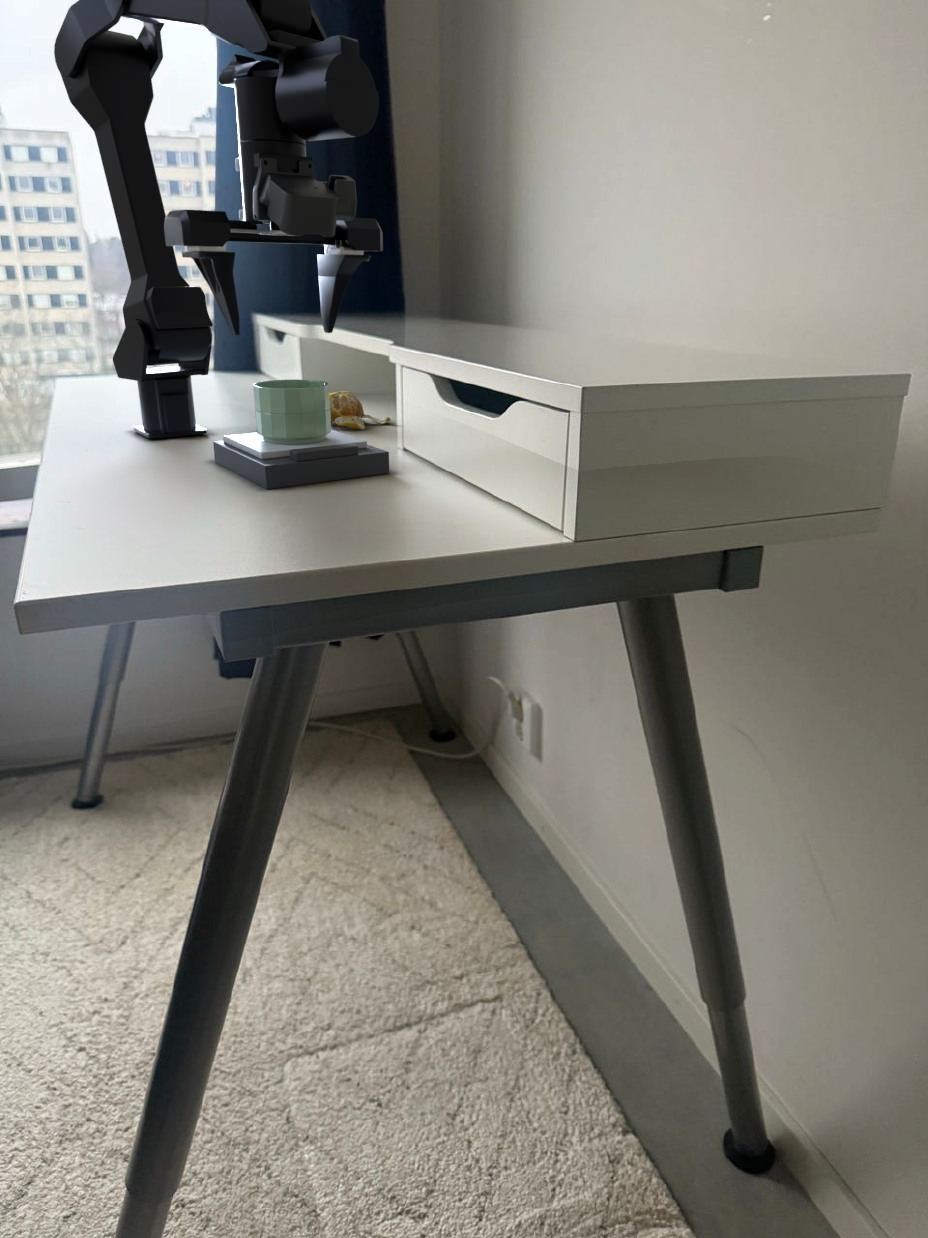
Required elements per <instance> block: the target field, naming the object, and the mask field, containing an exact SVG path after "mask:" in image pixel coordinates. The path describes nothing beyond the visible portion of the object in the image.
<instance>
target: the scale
mask: <svg viewBox="0 0 928 1238" xmlns="http://www.w3.org/2000/svg"><path fill="white" fill-rule="evenodd" d="M212 444H213V445H212V446H213V455H214V462H215V463H216V464H218V465H220V466H221V467H223V468H225V469H227V470H230V471H232V472H233V473H235V474H237V475H240V476H241V477H243V478H245V479H247V480H249V481H250V482H253V483H255V484H256V485H258V486H260V487H262V488H263V489H266V490H273V489H280V488H288V487H295V486H296V487H297V486H302V485H303V486H304V485H310V484H311V485H312V484H319V483H324V482H333V481H334V482H335V481H341V480H348V479H355V478H363V477H371V476H379V475H386V474H390V451H387V450H384V449H381V448H379V447H376V446H373V445H370V444H368V441H367V440H364V439H361V438H358V437H355V436H353V435H349V434H346V433H343V432H340V431H337V430H333V429H331V433H329V434H327V435H326V439H325V440H323V441H320V442H315V443H308V444H275V443H269V442H266V441H264V440H263V437H262V436H261V435H259V434H257V431H256V432H245V433H236V434H227V435H226V434H225V435H223V436H222V440H214V441H212Z"/></svg>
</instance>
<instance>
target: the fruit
mask: <svg viewBox="0 0 928 1238" xmlns="http://www.w3.org/2000/svg"><path fill="white" fill-rule="evenodd" d="M329 395H330V417H331V426H333V423H334V422H335V425H337V426H338V427H347V428H349V429H352V430H365V428H366V426H365V419H369V420H372V421H374V422H375V423H377V424H380V425H383V424H385V423H387V422H388V423H389V422H390V421H391V420H392V418H390V417H389V416H387V417H386V418H378V417H374V416H371V415H370V414H365V411H364V408H363V404H362V403H361V401H360V400H359V399H358V398H357V397H356V395H355V394H354V393H353V392H352V391H348V390H340V391H335V392H329Z"/></svg>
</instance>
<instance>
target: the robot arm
mask: <svg viewBox="0 0 928 1238" xmlns="http://www.w3.org/2000/svg"><path fill="white" fill-rule="evenodd" d="M121 18H126V19H131V20H134V21H139V22H143V27H142V28H141V31H140V33H139V35H138V36H137V38H136V37H135V36H134V35H131V34H126V33H123V32H122V33H121V32H118V31H113V30H111V29H112V28H113V27H114V26H116V25H117V24H118V23H119V22H120V20H121ZM165 24H168V25H169V24H171V25H176V26H183V27H188V28H195V29H202V30H207V31H208V33H209V35H211V36H213V37H215V38H217V39H219V40H221V41H223V42H225V43H226V44H229V45H231V46H234V47H237V48H243V49H245V50H246V51H247V52H248V53H249V54H252V55H256V56H260V57H265V58H270V59H262V60H256V58H255V57H253V56H249V55H244V54H240V53H233V54H232V57H231V60H230V62H229V63H228V65H226V66H225V67H224V68H223V69H222V71H221V73H220V74H219V76H218V83H219V84H220V86H224V87H227V88H228V87H229V88H234V96H235V113H236V125H237V141H238V155H239V156H238V157H235V158H234V164H235V172H240V183H241V193H242V194H241V196H242V209H238V218H239V220H238V219H237V220H236V219H229V217H228V214H227V212H226V211H224V210H206V209H205V210H203V209H202V210H201V209H178V210H170V211H169V212H168V213H167V215H166V211H165V206H164V203H163V198H162V193H161V190H160V189H161V188H160V185H159V181H158V177H157V172H156V168H155V164H154V160H153V155H152V152H151V147H150V142H149V138H148V135H147V130H146V122H147V120H148V116H149V112H150V109H151V107H152V103H153V100H154V89H153V80H152V79H153V78H154V76H155V74H156V72H157V70H158V68H159V67H160V65H161V63H162V61H163V58H164V51H163V41H162V34H161V31H162V30H163V28H164V26H165ZM53 48H54V49H53V56H54V62H55V65H56V68H57V70H58V71H59V74H60V77H61V79H62V83H63V85H64V88H65V91H66V94H67V97H68V100H69V102H70V103H71V105H72V107H74V109H75V110H76V112H77V113H78V114H79V115H80V116H81V117H82V119H83V120H84V121H85V122H86V124H87V125H88V126H89V127H90V128H91V130H92V131H93V133H94V136H95V139H96V143H97V147H98V148H97V149H98V151H99V155H100V160H101V163H102V167H103V172H104V175H105V180H106V184H107V188H108V192H109V195H110V200H111V205H112V208H113V212H114V216H115V220H116V224H117V225H116V226H117V229H118V232H119V236H120V240H121V245H122V249H123V253H124V256H125V260H126V265H127V268H128V272H129V273H128V274H129V278H130V284H129V287H128V290H127V294H126V296H125V299H124V303H123V305H122V316H123V320H124V330H123V332H122V334H121V336H120V339H119V342H118V344H117V346H116V349H115V352H114V354H113V356H112V362H113V365H114V369H115V373H116V375H117V378H118V379H123V380H129V381H134V382H135V381H136V384H137V385H136V386H137V391H138V399H139V408H140V415H141V423H142V425H133V431H134V432H136V433H138V434H140V435H142V436H143V437H145V438H147V439H151V440H153V439H161V438H164V439H165V438H171V437H184V436H196V435H205V434H208V430H207V428H205V427H203V426H200V425H199V424H197V421H196V412H195V411H196V410H195V402H194V393H193V392H194V391H193V383H192V376H208V375H209V370H210V362H211V356H212V355H211V354H212V346H213V332H212V328H211V327H213V326H214V324H213V322H212V320H211V317H210V314H209V311H208V306H207V300H206V294H205V292H204V291H203V288H202V287H201V286H200V285H199V286H198V285H195V286H193V285H192V286H190V285H189V283H188V282H187V281H186V279H185V278H184V277H183V275H181V273H180V269H179V265H178V262H177V256H176V253H175V249H174V247H186V250H181V257H182V258H187V259H188V258H190V259H192V260H193V262H194V263H195V266H196V267H197V269H198V270H199V272H200V273H201V275H202V277H203V278H204V280H205V282H206V284H207V285H208V287H209V288H210V291H211V293H212V296H213V298H214V299H215V301H216V304H217V305H218V308H219V310H220V312H221V314H222V317H223V319H224V321H225V323H226V325H227V327H228V329H229V331H230V334H231V335H232V336H236V337H238V336H240V335H241V327H240V326H241V325H240V312H239V306H238V305H239V304H238V299H237V298H238V297H237V289H236V284H235V277H234V276H235V275H234V269H235V267H234V266H235V261H236V260H235V258H236V252H235V251H228V249H227V243H255V244H257V243H258V244H264V243H265V244H287V245H289V244H290V245H291V244H292V245H321V246H322V247H324V254H320V253H319V254H317V255H316V258H317V259H316V260H317V273H318V274H317V275H318V287H319V301H320V302H319V303H320V315H321V316H320V317H321V322H322V327H323V332H324V333H325V334H332V333H333V332H334V328H335V324H336V321H337V318H338V314H339V312H340V309H341V306H342V302H343V298H344V295H345V291H346V289H347V286H348V285H349V282H350V280H351V277H352V275H353V273H355V271H356V269H357V268H358V267H359V266H360V264H361V263H362V262H369V261H370V258H371V255H370V254H369V255H366V254H364V252H384V238H383V237H384V236H383V235H384V232H383V231H382V228H381V226H380V224H379V222H378V221H377V219H376V218H366V217H365V218H364V217H356V215H357V214H356V213H357V205H358V200H357V186H356V180H354V179H353V178H352V177H350V176H349V175H338V174H330V175H328V177H327V179H326V181H320V180H317V178H316V176H315V163H314V162H313V161H314V160H313V157H311V156H307V143H306V141H307V142H317V141H326V140H337V139H347V138H357V137H362V136H365V135H366V134H368V133H369V132H370V131H371V130H372V129H373V128H374V125H375V123H376V121H377V117H378V114H379V106H380V96H379V91H378V90H377V89H376V84H375V80H374V77H373V75H372V73H371V71H370V69H369V66H367V64H366V63H365V61H364V60H362V58H360V42H359V40H358V39H356V38H352V37H349V36H344V35H341V34H337V35H332V36H329V37H328V36H327V34H326V32H325V29H324V28H323V26H322V24H321V22H320V20H319V18H318V16H317V14H316V13H315V11H314V9H313V7H312V5H311V0H77V1H76V2H75V3H73V4H72V5H71V6H70V7H69V8H68V10H67V12H66V14H65V17H64V18H63V21H62V24H61V26H60V28H59V30H58V33H57V36H56V38H55V41H54V47H53ZM271 59H274V60H271ZM275 60H278V62H277V61H275ZM264 224H269V227H270V228H269V229H258V226H263V225H264ZM176 364H177V365H176ZM165 365H174V366H165ZM148 366H149V367H151V366H161V367H151V368H148ZM163 366H164V367H163Z"/></svg>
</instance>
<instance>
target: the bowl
mask: <svg viewBox="0 0 928 1238" xmlns="http://www.w3.org/2000/svg"><path fill="white" fill-rule="evenodd" d="M252 387H253V399H254V400H253V401H254V409H255V410H254V411H255V413H254V414H255V425H256V432H257V434H259V435H261V436H262V437H263V440H264V441H266V442H269V443H275V444H308V443H315V442H320V441H323V440H325V439H326V435H327V434H329V433H331V430H332V425H331V417H330V395H329V393H330V384H329V382H328V381H323V380H314V379H272V380H264V381H258V382H255V383H253V385H252Z"/></svg>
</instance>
